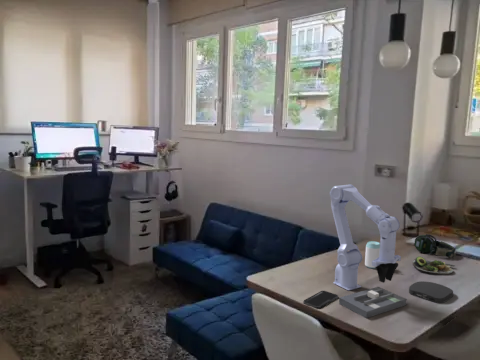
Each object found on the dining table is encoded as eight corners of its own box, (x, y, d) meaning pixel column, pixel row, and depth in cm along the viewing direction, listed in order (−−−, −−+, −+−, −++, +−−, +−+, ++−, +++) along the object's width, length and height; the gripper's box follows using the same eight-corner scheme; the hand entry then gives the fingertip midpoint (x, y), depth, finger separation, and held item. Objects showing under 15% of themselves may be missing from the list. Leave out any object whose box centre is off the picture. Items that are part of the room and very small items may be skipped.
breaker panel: (339, 303, 168) (339, 294, 167) (378, 292, 179) (378, 283, 178) (366, 318, 156) (366, 308, 155) (406, 305, 167) (406, 296, 166)
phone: (302, 301, 168) (322, 290, 179) (302, 304, 168) (322, 292, 179) (319, 307, 163) (339, 295, 173) (319, 310, 163) (339, 298, 174)
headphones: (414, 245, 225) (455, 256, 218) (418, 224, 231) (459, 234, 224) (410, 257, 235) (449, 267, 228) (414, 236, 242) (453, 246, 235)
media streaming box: (456, 295, 177) (456, 288, 177) (440, 305, 168) (441, 298, 167) (421, 284, 188) (422, 278, 188) (405, 293, 178) (405, 286, 178)
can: (382, 267, 208) (384, 244, 206) (371, 269, 205) (372, 245, 203) (373, 263, 214) (374, 240, 212) (361, 264, 211) (363, 241, 210)
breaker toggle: (367, 296, 168) (367, 291, 168) (371, 295, 169) (371, 290, 169) (374, 299, 165) (374, 294, 164) (378, 298, 166) (379, 293, 166)
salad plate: (447, 263, 216) (448, 254, 215) (463, 276, 198) (464, 267, 198) (408, 262, 217) (408, 253, 217) (420, 275, 200) (421, 265, 199)
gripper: (382, 253, 160) (380, 287, 162) (408, 247, 168) (405, 280, 170) (368, 248, 166) (366, 281, 168) (393, 243, 174) (391, 274, 176)
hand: (385, 280), depth 169 cm, fingers open, 3 cm apart
